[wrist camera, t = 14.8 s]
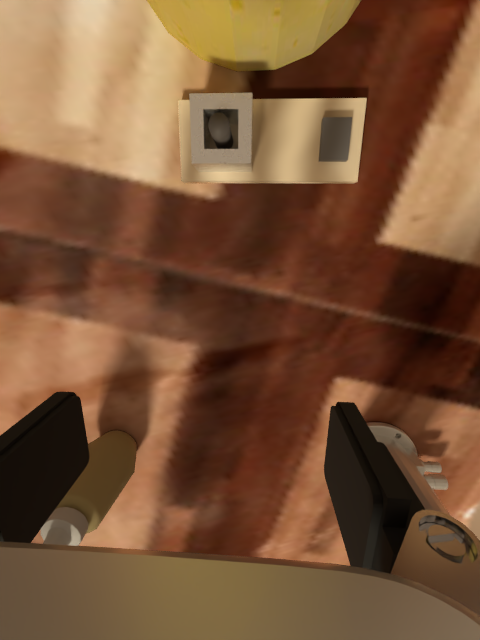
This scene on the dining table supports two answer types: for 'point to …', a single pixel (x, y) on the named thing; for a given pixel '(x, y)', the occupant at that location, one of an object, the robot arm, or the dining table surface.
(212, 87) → the dining table surface
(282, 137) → the peg board
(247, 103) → the link
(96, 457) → the squeeze bottle
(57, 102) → the dining table surface
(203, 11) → the cheese
